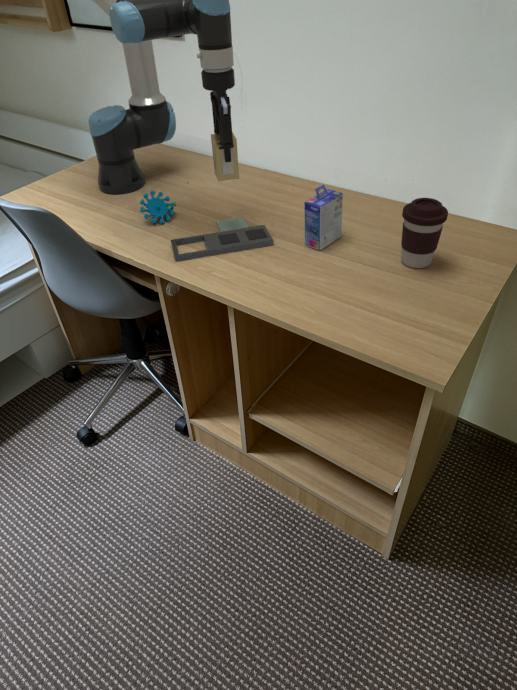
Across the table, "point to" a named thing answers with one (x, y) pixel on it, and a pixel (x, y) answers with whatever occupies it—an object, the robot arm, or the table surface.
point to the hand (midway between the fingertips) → (226, 168)
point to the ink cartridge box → (323, 218)
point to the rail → (225, 242)
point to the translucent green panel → (232, 224)
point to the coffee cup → (421, 231)
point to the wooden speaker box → (218, 159)
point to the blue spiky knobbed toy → (157, 207)
